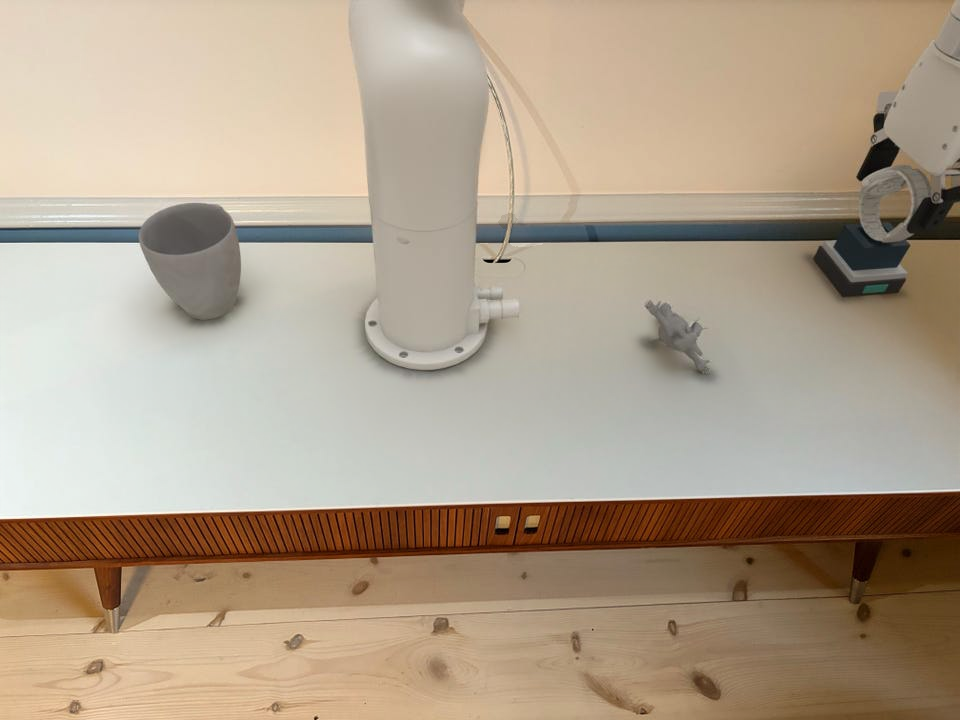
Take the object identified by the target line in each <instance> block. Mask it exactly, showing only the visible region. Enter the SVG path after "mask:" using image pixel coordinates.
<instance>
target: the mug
mask: <svg viewBox="0 0 960 720" xmlns="http://www.w3.org/2000/svg"><path fill="white" fill-rule="evenodd" d="M236 228H237V227H236V225H235V222H234V220H233V217H232V216H231V215H230V213H229V212H228V211H226V210H225V208H224V207H222V206H221V205H220V204H218V203H206V202H186V203H179V204H175V205H171V206H168V207H165V208H163V209H161V210H159V211H157V212H154V213H153V214H152V215H150V216H149V217H148V218H147V219H146V220H145V221H144V222H143V223H142V224H141V226H140V229H139V233H138V241H139V245H140V249H141V251H142V254H143V256H144V258H145V261H146V263H147V265H148V267H149V269H150V271H151V273H152V275H153V276H154V278H155V279H156V281H157V282H158V284H159V286H160V288H161V289H162V290H163V291H164V293H166V295H167V296H168V297H169V298H170V299H171V300H172V301H173V302H174V303H176V304H177V305H178V306H179V307H180V308H182V309H183V311H184V312H185V313H186V314H187V316H189V317H190V318H193V319H196V320H202V321H203V320H214V319H217V318H220V317H223V316H225V315H227V314H228V313H229V312H231V311H232V309H233V308H234V306H235V305H236V302H237V294H238V290H239V287H240V282H241V274H242V257H241V256H242V255H241V249H240V242H239V236H238V232H237V229H236Z"/></svg>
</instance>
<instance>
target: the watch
mask: <svg viewBox="0 0 960 720" xmlns="http://www.w3.org/2000/svg"><path fill="white" fill-rule="evenodd" d="M860 186H861V188H860V191H859V193H858V200H859V204H858V215H859V217H858V218H859V221H860V223H853V224H844V225H843V227H842V228H841V230H840V233H839V234H838V237H837V239H836V240H837V241H836V243H835V245H834V249H835V250H836V251H837V252H838V254H839V255H840V256H841V257H842V258H843V260H844V261H845V262H846V263H847V265H848V266H849V267H850V268H851V269H852V271H856V270H869V269H883V268H896V267H898V265H899V264H900V265H901V262H902V261H903V259H904V257H905V255H906V254H907V252H908V250H909V249H910V247H911V244H910V242H908V240H907V239H909V238H910V237H912V236H913V235H914V234H910V233H909V232H908V231H907V230H906V229H907V226H908V224H909V222H910V221H911V219H912V217H913V215H914V214H915V212H916V210H917V209H918V207H919V205H920V204H921V202H922V200H923V199H924V198H926V197H931V181H930V180H929V178H927V175H926V174H925V173H924V172H923V171H922V170H921V169H920V168H913V167H912V165H909V164H897V165H892V166H891V167H887V168H884V169H881V170H879V171H876V172H874V173H872V174H870V175H868V176H867V177H866V178H864V179H863V180H862V181H860ZM906 187H908V191H909V194H910V200H911V201H910V203H911V205H910V212H909V214H908V216H907V217H906V218H905V220H904V221H903V222H900V223H898V225H897V226H895V227H894V226H893V225H892V223H891V222H890V221H882V222H881V219H880V203H881V199H885V198H886V197H888V196H889V195H892V194H894V193H897V192H899V191H901V190H903V189H905V188H906Z"/></svg>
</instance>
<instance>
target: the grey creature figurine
mask: <svg viewBox="0 0 960 720" xmlns="http://www.w3.org/2000/svg"><path fill="white" fill-rule="evenodd" d="M644 308H645V309H646V310H648V313H649V314H650V315H651V316H653V317H655V318H656V320H657V321H658V323H659V326H658V330H657V336H658V338H656V339H653V340H651V341H650V340H649V344H653V343H654V344H655V343H663V344H664V346H666V348H669V349H672V350H675V351H678V352H680V353H683V354H685V355H686V357H688V358H689V359H690V360H691V361H693V363H694V365H695V367H696V369H697V370H698V371H700V372H701V373H702V374H705V375H707V374H709V373H710V372H711V371H712V369H711V368H709V367H708V366H707V365H708V363H711V359H706V360H705V359H701V358H700V357H702V356H703V352H702V349H700V347H699V345H698V344H697V340H698V338H699V337H700V336H701V333H702V331H704V330H708V329H709V327H708V326H702V325H701V324H700V323H699V322H698V321H700V320H701V317H697V318H694V319H693V320H691V321H690V322H687V321H686V320H685V319H684V318H683V317H682V315H681V313H680V312H679V311H676V312H673V310H672V308H673V304H672V302H670V301H666V302H664V303H662V301H661V300H660V301H658V303H657V304H656V305H655V304H654V303H653V301H652V299H649V300H646V302H644Z"/></svg>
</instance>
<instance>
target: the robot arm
mask: <svg viewBox="0 0 960 720" xmlns="http://www.w3.org/2000/svg"><path fill="white" fill-rule="evenodd" d="M465 2H466V0H349V7H348V21H347V22H348V23H347V24H348V34H349V41H350V48H351V51H352V55H353V63H354V68H355V74H356V77H357V83H358V90H359V97H360V106H361V107H360V108H361V115H362V123H363V137H364V138H363V139H364V154H365V157H364V158H365V169H366V183H367V196H368V204H369V212H370V213H369V215H370V223H371V235H372V246H373V257H374V258H373V259H374V260H373V261H374V269H375V281H376V293H377V297H376V298H375V299H374V300H373V301H372V303H370V305H369V306H368V309H367V311H366V313H365V318H364V329H365V335H366V339H367V342H369V344H370V346H371V348H372V349H373V350H374V351H375V352H376V354H377V355H378V356H380V357H381V358H383V359H384V360H385V361H387V362H389V363H391V364H394V365H396V366H399V367H402V368H405V369H410V370H419V371H433V370H440V369H445V368H446V369H447V368H449V367H452V366H455V365H457V364H459V363H462V362H464V361H466V360H467V359H468V358H470V357H471V356H472V355H474V354H475V353H476V352H477V351H478V350H479V349H480V348H481V346H482V345H483V343H484V341H485V339H486V335H487V331H488V324H489V322H490V319H502V320H504V319H518V318H519V317H520V312H521V311H520V302H519V299H518V298H510V299H504V290H503V287H502V286H489V287H486V288H485V287H484V288H480V285H475V272H476V271H475V270H476V269H475V268H476V249H477V248H476V247H477V243H476V242H477V226H478V225H477V223H478V203H479V202H478V197H479V196H478V192H479V175H480V174H479V173H480V164H481V163H480V162H481V153H482V146H483V141H484V134H485V129H486V126H487V119H488V114H489V103H490V87H489V77H488V73H487V67H486V63H485V60H484V57H483V54H482V51H481V48H480V46H479V44H478V42H477V39H476V37H475V35H474V33H473V31H472V29H471V26H470V25H469V23H468V22H467V20H466V19H465V17H464V16H463V12H464V7H465ZM875 111H876V114H875V115H874V116H873V120H872V123H873V133H872V134H871V135H870V137H869V144H870V145H871V146H870V148H869V150H868V152H867V154H866V156H865V158H864V160H863V162H862V164H861V166H860V168H859V170H858V172H857V174H856V178H855V179H857V180H858V182H862V180H863V179H864V178H866V177H867V176H868V175H870V174H872V173H874V172H876V171H879V170H881V169H884V168H887V167H891V166H893V164H894V162H895V160H896V158H897V156H898V154H899V152H900V150H901V151H902V152H903V153H904V154H905V155H906V156H907V157H908V158H910V159H911V160H912V161H913V162H915V163H916V164H917V165H918V166H919V167H920V168H921V169H922V170H923V171H924V172H926V173H927V174H929V175H930V186H931V197H926V198H924V199H923V200H922V202H921V204H920V205H919V207H918V209H917V210H916V212H915V214H914V215H913V217H912V219H911V221H910V222H909V224H908V226H907V229H906V230H907V231H908V232H909V233H910V234H913V235H915V234H930V233H936V232H937V231H938V230H939V229H940V227H941V225H942V223H943V222H944V220H945V219H946V217H947V216H948V214H949V212H950V211H951V209H952V207H953V206H954V204H956V203H960V0H954V2H953V3H952V6H951V8H950V9H949V11H948V14H947V15H946V18H945V19H944V21H943V24H942V25H941V27H940V29H939V31H938V33H937V35H936V37H935V39H932V40H931V41H930V43H929V44H928V46H927V47H926V48H925V49H924V51H923V52H922V53H921V55H920V56H919V58H918V59H917V61H916V62H915V64H914V65H913V67H912V69H911V70H910V72H909V74H908V75H907V77H906V78H905V80H904V82H903V83H902V85H901V87H900V88H899V90H898V91H897V90H896V91H882V92H880V93H879V94H878V97H877V103H876V110H875ZM946 177H950V188H946V185H947V184H946Z"/></svg>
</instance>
